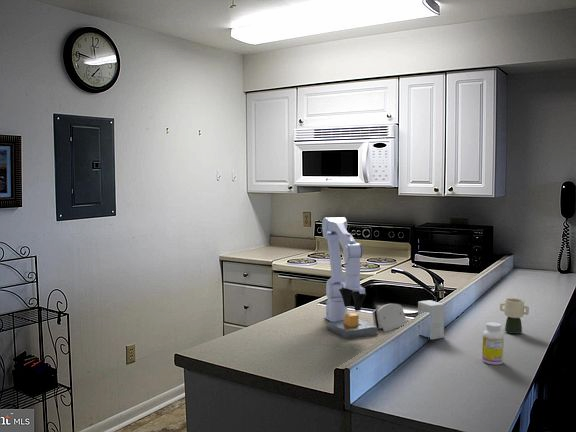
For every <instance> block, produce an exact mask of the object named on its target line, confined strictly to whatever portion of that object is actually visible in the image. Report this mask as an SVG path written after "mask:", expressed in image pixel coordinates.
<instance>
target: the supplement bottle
mask: <svg viewBox="0 0 576 432" xmlns="http://www.w3.org/2000/svg"><path fill="white" fill-rule="evenodd" d="M485 327H486V329H485V330H484V331H482V349H481V353H482V355H481V356H482V359H481V360H482V361H483V362H484V363H486V364H489V365H493V366H495V365H502V364H503V363H504V358H505V355H504V352H505V349H504V348H505V333H504V332H503V331H501V329H502V324H501V323H499V322H494V321H493V322H492V321H489V322H486V323H485Z"/></svg>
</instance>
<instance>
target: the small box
mask: <svg viewBox="0 0 576 432" xmlns="http://www.w3.org/2000/svg"><path fill="white" fill-rule="evenodd" d="M424 312H429V313H431V317H432V318H431V333H430V339H429V340H436V339H442V338H444V336H445V334H444V333H445V304H444V303H441V302H437V301H434V300H432V299H431V300H429V299H428V300H420V301H418V302H417V316H418V315H420V314H422V313H424Z"/></svg>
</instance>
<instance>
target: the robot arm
mask: <svg viewBox="0 0 576 432" xmlns="http://www.w3.org/2000/svg"><path fill="white" fill-rule="evenodd" d="M321 222H322V223H321V229H322V236H323V238H324V239H325V240H326V241H327V247H328V248H327V249H328V257H329V265H330V273H331V274H330V275H331V277H330V278H329V279H328V280H326V283H325V285H326V287H325V295H326V297H327V301H326V303H325V304H326V305H325V316H324V319H325V320H328V321H329V322H332V321H340V320H344V314H348V307H350V306H351V302H352V301H351V300H352V298H353V306H354V311H355V312H359V311H361V309H362V306H363V302H364V300H365V298H366V296H367V293H366V288H365V287H363V286H362V285H361V259H362V258H363V254H364V253H363V252H364V251H363V245H362V243H360V242H356V240H355V238H354V237H353V235H352V233H350V232H348V230H347V228H348V220H347V218H346V217H345V216H343V217H323V219H322V221H321ZM340 246H341V248H342V249H343V252H342V253H343V254H342V255H343V260H344V263H345V267H344V268H345V271H344V272H345V275H344V274H343V266H342V257H341V248H340Z"/></svg>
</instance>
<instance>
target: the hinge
mask: <svg viewBox="0 0 576 432" xmlns="http://www.w3.org/2000/svg"><path fill="white" fill-rule="evenodd" d="M371 314H372V318H373V319H372V320H373V325H375V326H377V330H378V329H382V330H383V332H387V331H391V330H394V329H398V328H402V327H404V326H403V325H404V324H406V323H407V322H409V323H410V320H409V319H408V318H407V317H406V314H405V311H404V309H403V307H402V305H401V304H399V303H387V304H383V305H380V306H379V307H377V308H376V309H374V310H373V311H372V312H371ZM401 326H402V327H401Z"/></svg>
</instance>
